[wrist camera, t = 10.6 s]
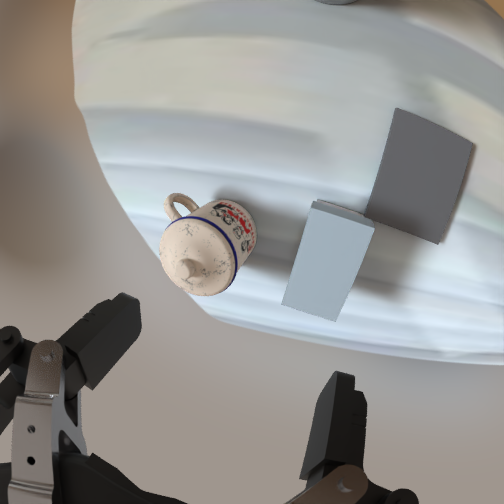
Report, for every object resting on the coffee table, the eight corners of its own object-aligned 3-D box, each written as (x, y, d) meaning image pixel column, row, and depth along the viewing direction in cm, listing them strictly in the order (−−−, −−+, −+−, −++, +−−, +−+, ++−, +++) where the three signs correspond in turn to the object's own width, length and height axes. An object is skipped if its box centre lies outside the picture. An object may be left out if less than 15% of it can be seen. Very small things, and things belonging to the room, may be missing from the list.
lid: (313, 200, 28) (310, 207, 25) (372, 220, 27) (375, 228, 24) (285, 291, 33) (281, 304, 30) (336, 308, 32) (335, 321, 29)
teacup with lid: (273, 240, 36) (245, 287, 26) (223, 273, 40) (184, 322, 30) (214, 164, 34) (161, 182, 24) (169, 206, 38) (114, 236, 28)
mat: (395, 108, 25) (396, 107, 25) (469, 142, 24) (472, 143, 23) (364, 214, 31) (364, 217, 30) (435, 241, 30) (438, 244, 29)
